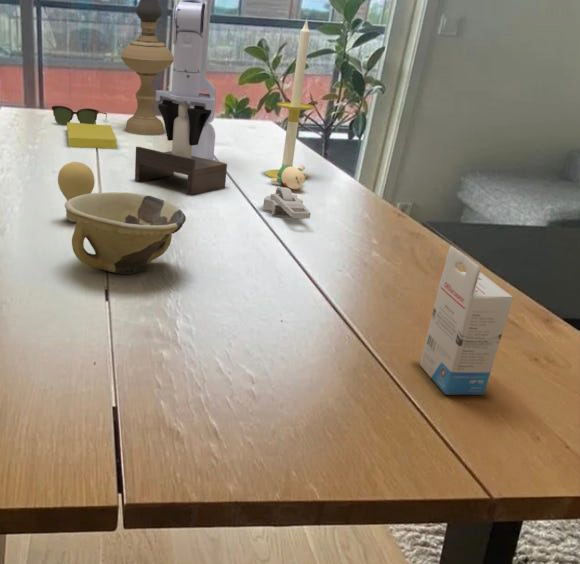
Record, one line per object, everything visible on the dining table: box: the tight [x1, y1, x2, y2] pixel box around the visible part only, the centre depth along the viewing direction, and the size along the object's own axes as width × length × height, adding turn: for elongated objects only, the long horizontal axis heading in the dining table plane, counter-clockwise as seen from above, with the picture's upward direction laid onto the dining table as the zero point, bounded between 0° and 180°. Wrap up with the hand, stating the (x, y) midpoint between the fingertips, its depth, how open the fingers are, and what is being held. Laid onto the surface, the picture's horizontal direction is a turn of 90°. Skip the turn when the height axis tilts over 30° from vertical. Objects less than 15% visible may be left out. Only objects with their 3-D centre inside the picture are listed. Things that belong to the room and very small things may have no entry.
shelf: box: [134, 146, 228, 196], centre depth 167 cm, size 12×16×7 cm
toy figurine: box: [270, 164, 306, 191], centre depth 172 cm, size 8×4×12 cm
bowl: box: [64, 191, 187, 275], centre depth 115 cm, size 18×18×10 cm
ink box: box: [419, 245, 514, 396], centre depth 87 cm, size 9×5×15 cm, turn 5°
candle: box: [264, 19, 315, 180], centre depth 175 cm, size 10×10×32 cm
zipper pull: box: [262, 186, 312, 219], centre depth 149 cm, size 8×18×4 cm, turn 7°
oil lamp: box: [119, 0, 174, 136], centre depth 213 cm, size 15×15×40 cm
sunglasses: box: [51, 105, 108, 126], centre depth 229 cm, size 14×15×5 cm
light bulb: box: [57, 161, 96, 223], centre depth 136 cm, size 6×6×10 cm
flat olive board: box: [66, 121, 117, 150], centre depth 207 cm, size 12×2×24 cm
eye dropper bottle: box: [171, 101, 192, 158], centre depth 163 cm, size 4×6×12 cm
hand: (182, 142), depth 164 cm, fingers closed on eye dropper bottle, 5 cm apart
